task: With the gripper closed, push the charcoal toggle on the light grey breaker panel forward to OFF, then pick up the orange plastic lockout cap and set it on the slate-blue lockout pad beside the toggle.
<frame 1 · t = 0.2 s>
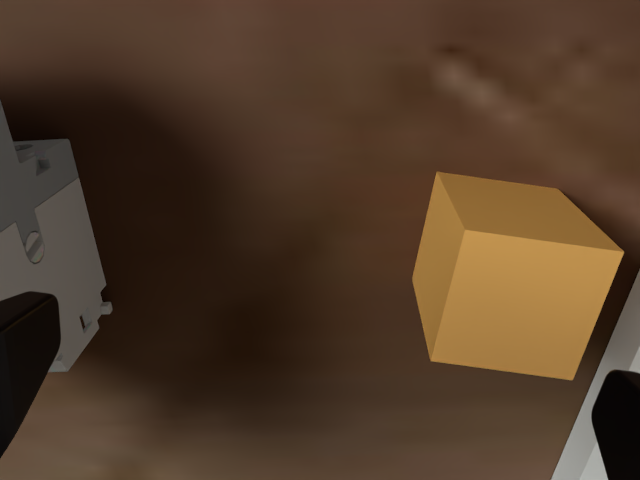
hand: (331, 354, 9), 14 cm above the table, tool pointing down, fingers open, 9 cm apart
lockout cap: (481, 235, 24), on the table
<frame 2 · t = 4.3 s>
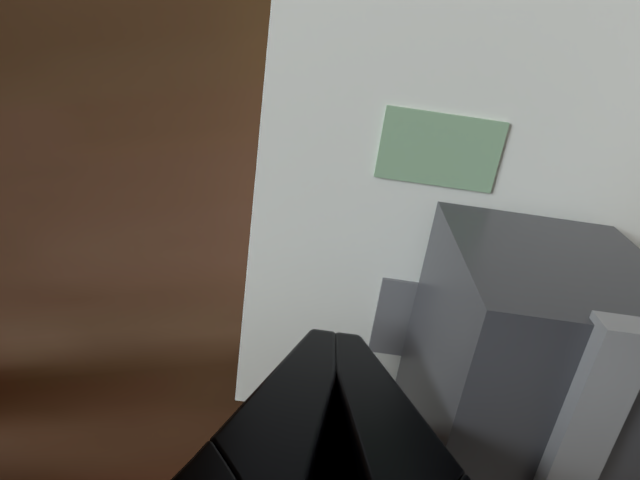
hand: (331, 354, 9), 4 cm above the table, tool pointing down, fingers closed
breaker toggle: (516, 406, 9), point 4 cm above the table, slide at 1.6 cm, touching gripper
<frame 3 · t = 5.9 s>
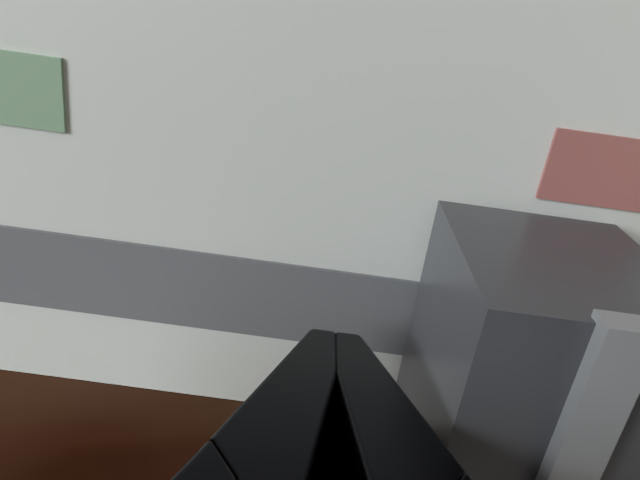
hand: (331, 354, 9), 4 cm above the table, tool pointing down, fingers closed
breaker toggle: (518, 405, 9), point 4 cm above the table, slide at 8.8 cm, touching gripper
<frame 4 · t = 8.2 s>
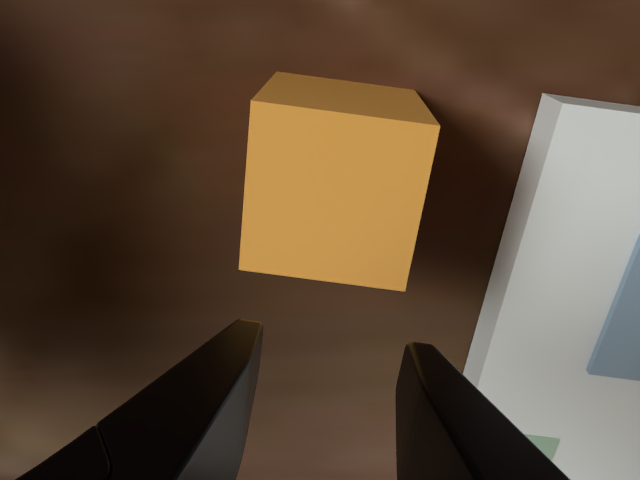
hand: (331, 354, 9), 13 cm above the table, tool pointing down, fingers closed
lockout cap: (336, 148, 21), on the table
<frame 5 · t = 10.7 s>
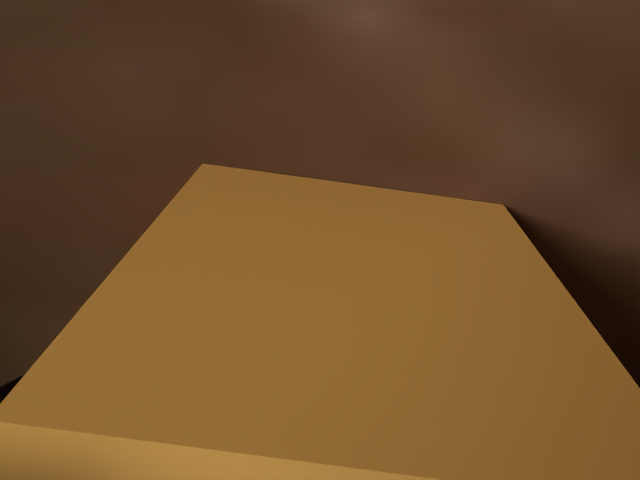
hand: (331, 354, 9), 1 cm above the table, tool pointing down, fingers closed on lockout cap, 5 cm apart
lockout cap: (332, 313, 10), on the table, touching gripper
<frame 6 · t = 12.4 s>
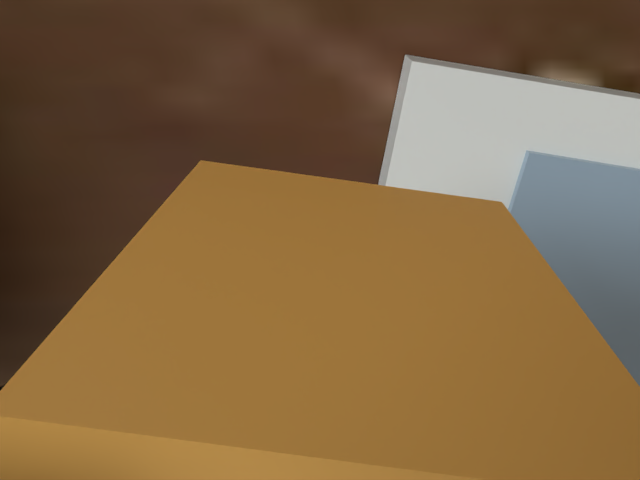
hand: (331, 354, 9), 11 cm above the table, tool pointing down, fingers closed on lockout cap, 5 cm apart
breaker panel: (548, 348, 22), on the table
lockout cap: (331, 310, 10), point 10 cm above the table, touching gripper
when the fingers open (5 cm above the table, at t = 14.5 s): lockout cap drops 1 cm, resting on breaker panel.
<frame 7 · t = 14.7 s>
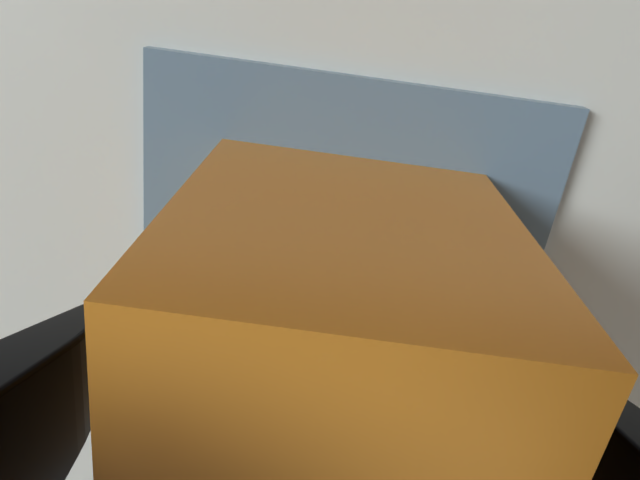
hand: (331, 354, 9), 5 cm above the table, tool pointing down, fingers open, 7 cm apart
breaker panel: (317, 365, 15), on the table
lockout cap: (336, 273, 11), point 2 cm above the table, touching breaker panel
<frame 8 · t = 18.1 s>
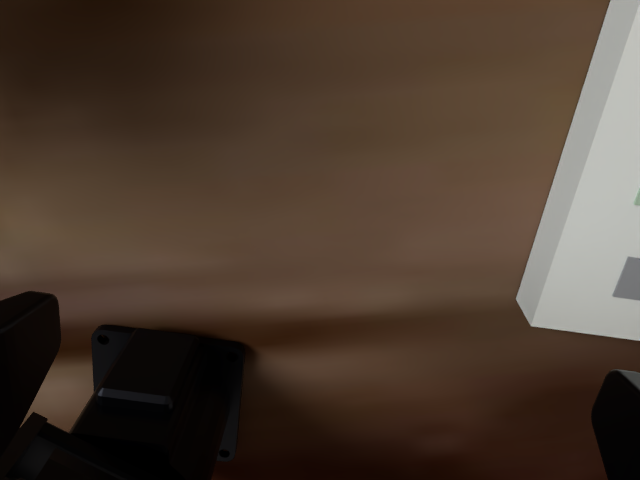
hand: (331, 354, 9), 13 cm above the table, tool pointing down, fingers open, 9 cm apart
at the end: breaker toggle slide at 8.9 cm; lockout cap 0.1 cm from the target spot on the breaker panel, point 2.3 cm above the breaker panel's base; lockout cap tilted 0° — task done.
